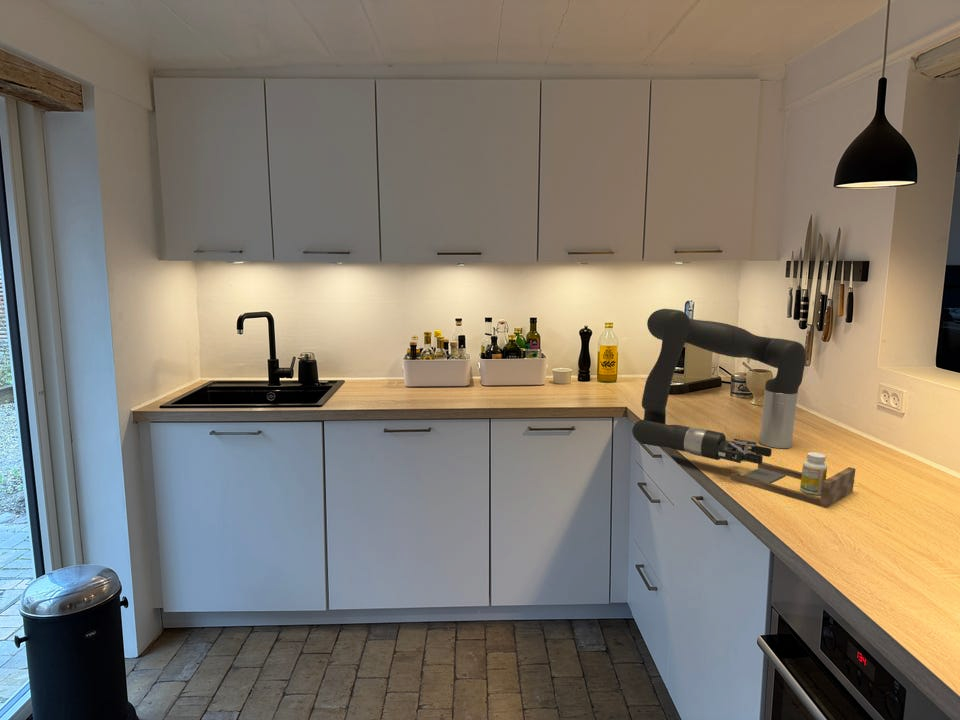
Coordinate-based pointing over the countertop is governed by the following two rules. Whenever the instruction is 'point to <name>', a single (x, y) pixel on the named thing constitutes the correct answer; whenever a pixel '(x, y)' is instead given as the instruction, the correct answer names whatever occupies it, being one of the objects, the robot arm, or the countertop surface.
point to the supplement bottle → (813, 473)
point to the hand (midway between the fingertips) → (766, 456)
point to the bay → (830, 493)
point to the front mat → (765, 475)
